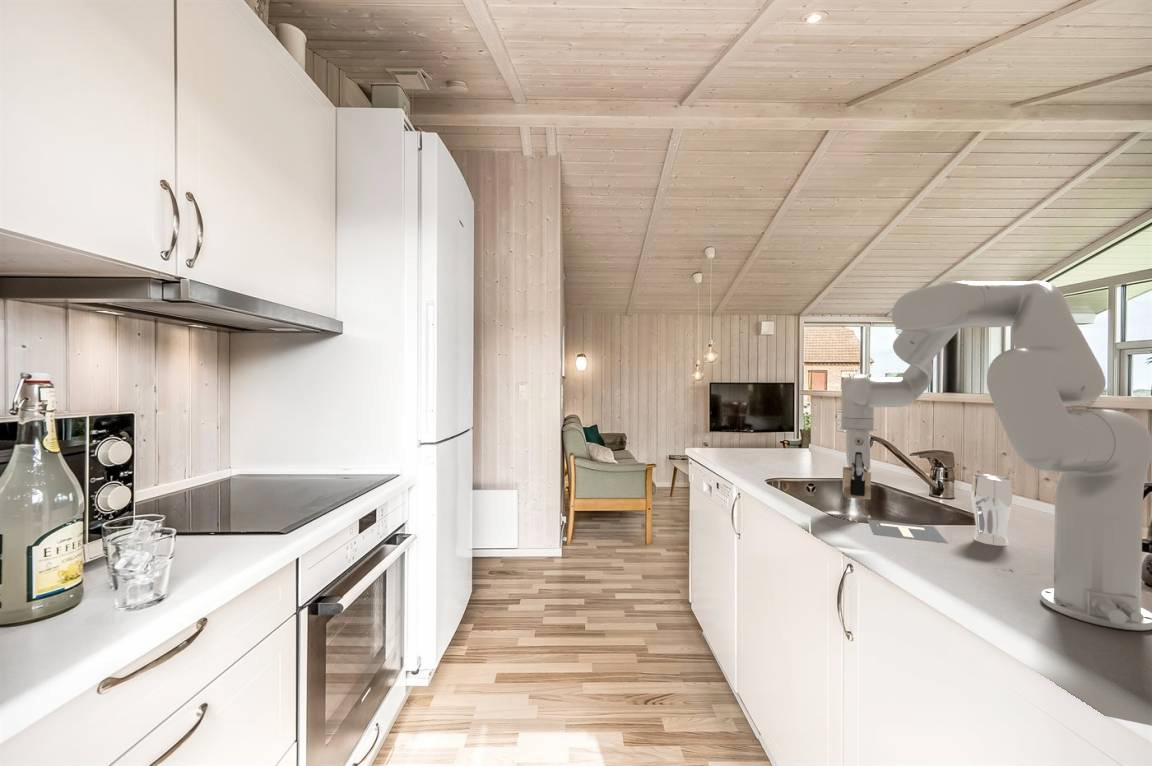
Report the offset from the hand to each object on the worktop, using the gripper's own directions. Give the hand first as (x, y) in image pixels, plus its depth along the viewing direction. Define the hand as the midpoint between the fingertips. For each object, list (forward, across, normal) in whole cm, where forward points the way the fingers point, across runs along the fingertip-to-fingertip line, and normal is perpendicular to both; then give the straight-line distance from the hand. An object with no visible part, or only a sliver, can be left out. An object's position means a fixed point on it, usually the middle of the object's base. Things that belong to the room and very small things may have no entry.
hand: (856, 492), depth 134 cm
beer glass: (+7, -13, -25) cm, 29 cm away
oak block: (+1, 0, 0) cm, 1 cm away
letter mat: (+6, -12, -9) cm, 16 cm away
